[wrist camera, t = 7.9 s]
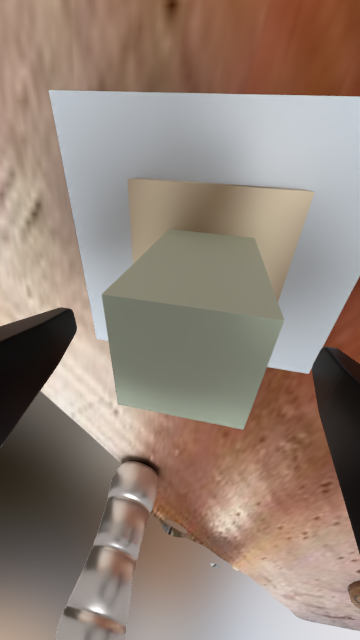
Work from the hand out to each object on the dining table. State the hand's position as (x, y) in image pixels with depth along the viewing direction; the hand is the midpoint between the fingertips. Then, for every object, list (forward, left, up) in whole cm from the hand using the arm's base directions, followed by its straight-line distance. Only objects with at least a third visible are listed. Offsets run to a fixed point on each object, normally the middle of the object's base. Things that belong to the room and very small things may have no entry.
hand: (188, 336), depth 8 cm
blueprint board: (0, 0, -8) cm, 8 cm away
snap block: (0, 0, -6) cm, 6 cm away
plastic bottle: (+6, +32, -8) cm, 34 cm away
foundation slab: (0, 0, -8) cm, 8 cm away
